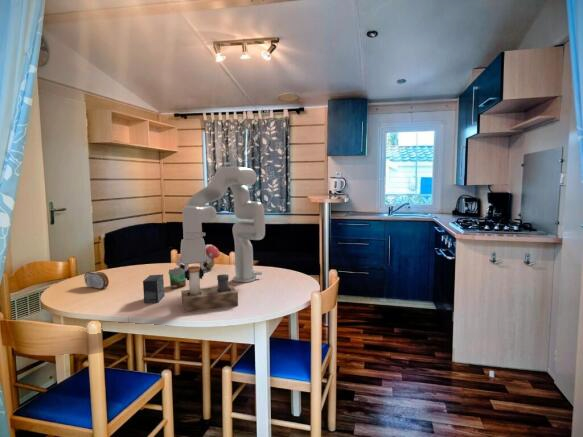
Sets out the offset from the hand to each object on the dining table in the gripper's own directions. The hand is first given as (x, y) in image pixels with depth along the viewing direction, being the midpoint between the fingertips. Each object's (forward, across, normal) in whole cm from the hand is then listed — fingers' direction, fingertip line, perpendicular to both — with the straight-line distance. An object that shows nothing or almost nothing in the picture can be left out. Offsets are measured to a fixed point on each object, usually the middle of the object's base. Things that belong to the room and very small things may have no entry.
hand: (194, 278), depth 153 cm
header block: (+12, -6, 0) cm, 14 cm away
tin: (+13, +43, -49) cm, 66 cm away
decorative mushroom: (+13, -16, -68) cm, 71 cm away
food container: (+13, +3, -35) cm, 37 cm away
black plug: (+12, -12, 0) cm, 17 cm away
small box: (+13, +16, -17) cm, 27 cm away
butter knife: (+13, -33, -12) cm, 37 cm away
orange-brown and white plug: (+7, 0, 0) cm, 7 cm away
